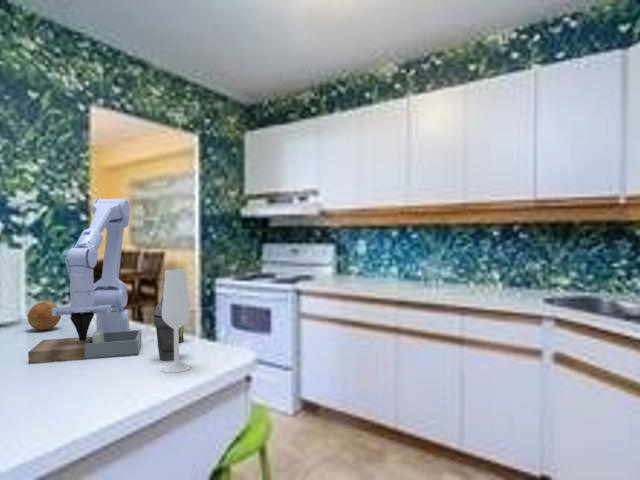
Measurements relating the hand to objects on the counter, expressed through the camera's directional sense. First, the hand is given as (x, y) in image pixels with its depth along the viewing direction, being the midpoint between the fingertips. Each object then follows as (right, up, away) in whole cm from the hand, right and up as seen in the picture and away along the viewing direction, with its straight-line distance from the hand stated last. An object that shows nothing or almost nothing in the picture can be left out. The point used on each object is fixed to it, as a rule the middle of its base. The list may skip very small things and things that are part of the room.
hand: (82, 340), depth 130 cm
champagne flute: (+30, -4, -15) cm, 34 cm away
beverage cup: (+25, -4, -6) cm, 26 cm away
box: (+8, -4, +2) cm, 9 cm away
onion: (-29, -3, +31) cm, 42 cm away
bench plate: (-5, -4, -1) cm, 6 cm away
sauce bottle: (+21, -3, +13) cm, 25 cm away
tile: (+3, -1, +1) cm, 3 cm away
